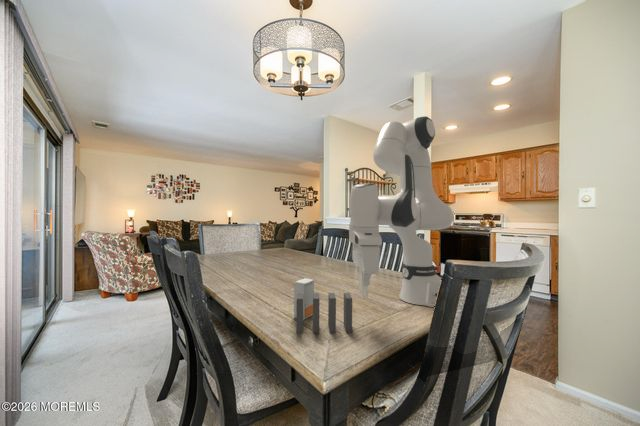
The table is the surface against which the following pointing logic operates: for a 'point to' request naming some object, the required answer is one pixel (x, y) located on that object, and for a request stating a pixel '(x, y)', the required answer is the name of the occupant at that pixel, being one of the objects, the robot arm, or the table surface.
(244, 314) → the table surface
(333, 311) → the domino
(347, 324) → the domino
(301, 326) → the domino
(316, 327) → the domino
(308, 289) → the skincare box
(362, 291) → the domino
